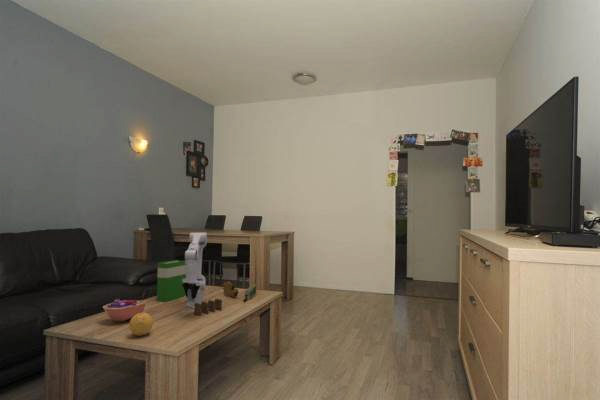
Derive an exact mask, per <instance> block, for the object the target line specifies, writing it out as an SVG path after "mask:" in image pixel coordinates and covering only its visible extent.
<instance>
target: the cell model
mask: <svg viewBox="0 0 600 400" xmlns="http://www.w3.org/2000/svg"><path fill="white" fill-rule="evenodd" d="M145 307H146V301H145V300H139V299H138V300H137V299H133V300H132V299H127V300H125V299H124V300H120V298H117V299H115V300H113V302H110V303H107V304H105V305H103V306H102V308H103V309H104V311H105V313H106V315H107V316H108V318H109V319H110V320H111V321H113V322H121V323H122V322H124V321H127V320H131V319H132V317H133V316H135V315H136V314H137V313H141V312H143V313H144V311H145Z"/></svg>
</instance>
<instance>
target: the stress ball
mask: <svg viewBox="0 0 600 400" xmlns="http://www.w3.org/2000/svg"><path fill="white" fill-rule="evenodd" d="M153 326H154V319H153V317H152V316H151V315H150V314H149V313H147V312H144V311H143V312H141V313H137V314H136V315H135V316H133V317H132V318H131V319H129V322H128V327H129V330H130V332H131V333H132V334H133V335H134V336H140V337H141V336H145V335H147V334H148V333H149V332H150V331H151V330H152V328H153Z"/></svg>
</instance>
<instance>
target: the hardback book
mask: <svg viewBox="0 0 600 400" xmlns="http://www.w3.org/2000/svg"><path fill="white" fill-rule="evenodd" d="M156 278H157V283H156V284H157V285H156V287H157V288H156V302H161V303H167V302H171V301H174V300H179V299H181V297H182V298H185V297H186V294H185V290H184V288H183V286H182V284H184V283H183V282H182V279H185V278H186V264H185V259H184V260H179V259H175V260H169V261H168V260H167V261H163V262H157V277H156ZM184 296H185V297H184Z"/></svg>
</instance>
